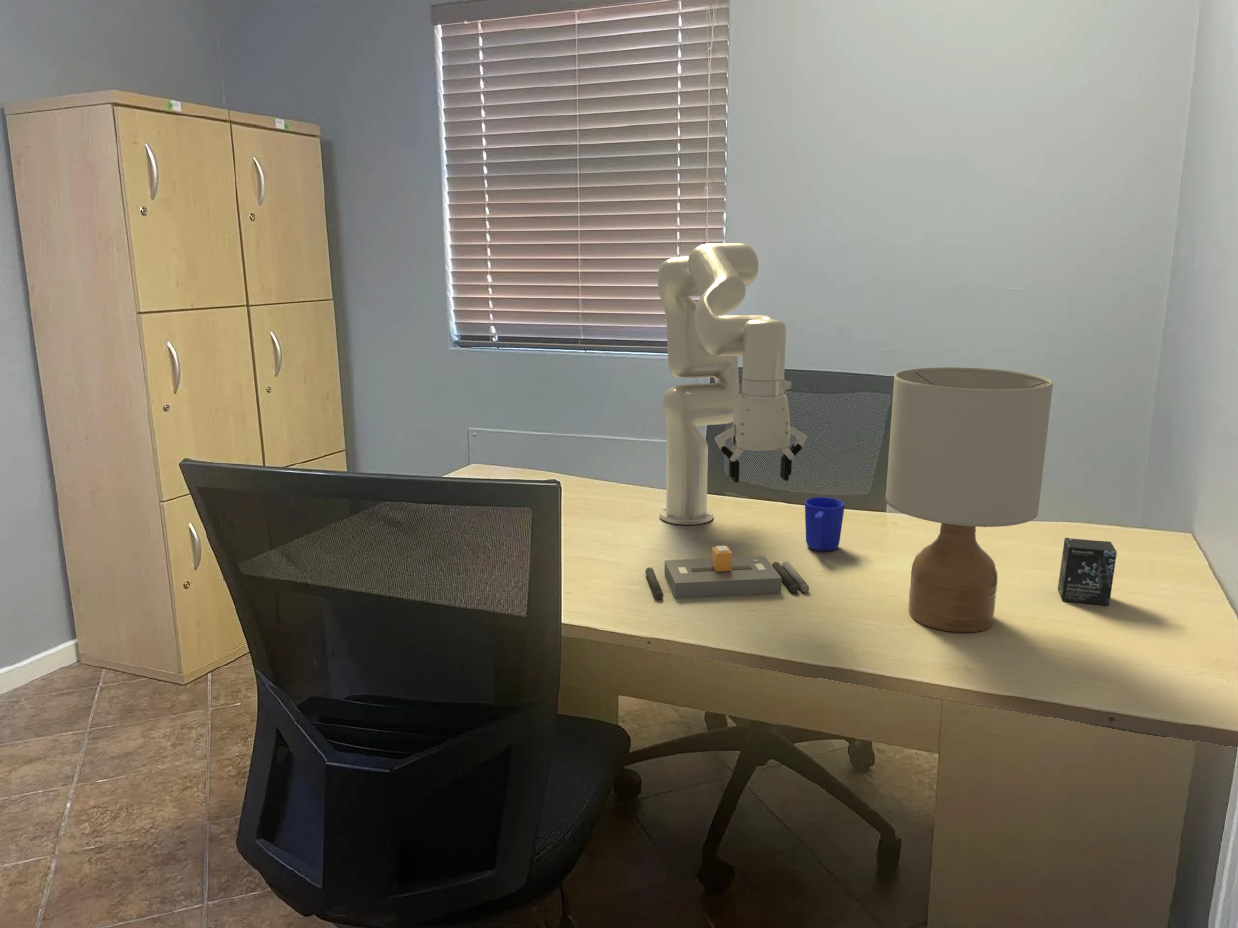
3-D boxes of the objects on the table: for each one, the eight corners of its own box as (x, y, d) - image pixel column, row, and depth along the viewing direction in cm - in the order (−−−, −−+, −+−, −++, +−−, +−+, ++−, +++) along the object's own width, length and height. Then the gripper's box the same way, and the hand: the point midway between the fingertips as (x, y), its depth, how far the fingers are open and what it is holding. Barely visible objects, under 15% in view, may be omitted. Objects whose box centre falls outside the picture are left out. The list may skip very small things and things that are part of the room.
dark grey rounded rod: (644, 574, 177) (644, 566, 177) (652, 573, 178) (652, 566, 177) (655, 600, 164) (655, 592, 164) (663, 600, 165) (663, 592, 164)
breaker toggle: (711, 564, 173) (712, 545, 172) (727, 564, 174) (727, 544, 173) (715, 571, 170) (716, 551, 169) (731, 570, 170) (732, 550, 169)
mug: (795, 556, 187) (797, 510, 184) (806, 539, 197) (808, 495, 195) (835, 562, 184) (838, 515, 181) (844, 543, 194) (847, 499, 192)
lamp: (863, 590, 169) (878, 367, 159) (993, 591, 168) (1017, 367, 158) (898, 646, 146) (918, 389, 135) (1049, 648, 145) (1080, 390, 135)
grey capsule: (771, 568, 180) (771, 560, 180) (779, 567, 180) (779, 560, 180) (791, 594, 167) (791, 586, 167) (799, 593, 167) (800, 585, 167)
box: (1061, 601, 163) (1068, 546, 161) (1057, 590, 169) (1063, 536, 166) (1110, 606, 161) (1117, 550, 158) (1103, 595, 166) (1111, 540, 164)
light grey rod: (780, 567, 180) (781, 560, 180) (788, 567, 181) (789, 560, 180) (801, 593, 167) (802, 585, 167) (810, 593, 167) (810, 585, 167)
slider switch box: (664, 574, 177) (664, 559, 176) (763, 570, 179) (764, 555, 178) (675, 598, 166) (675, 582, 165) (781, 593, 168) (781, 577, 167)
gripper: (803, 384, 168) (799, 473, 172) (711, 386, 166) (709, 476, 171) (815, 390, 161) (811, 483, 165) (720, 392, 159) (718, 486, 163)
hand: (759, 479), depth 168 cm, fingers open, 9 cm apart
